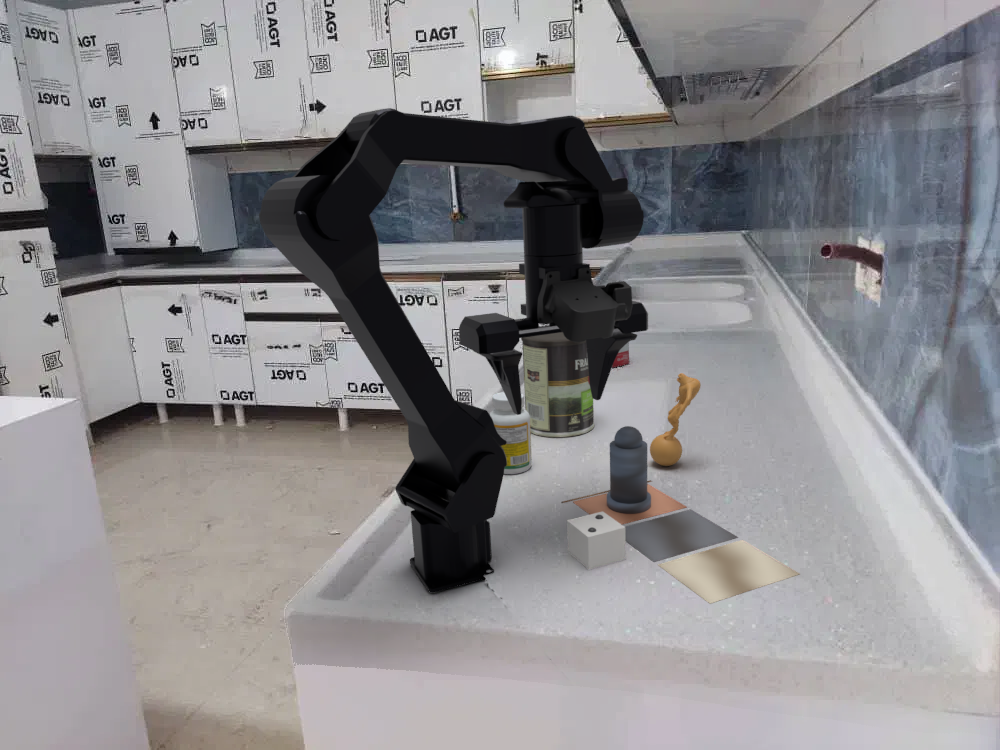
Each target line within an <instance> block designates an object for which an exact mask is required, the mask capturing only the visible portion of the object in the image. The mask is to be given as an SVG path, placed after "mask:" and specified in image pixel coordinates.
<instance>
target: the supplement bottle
mask: <svg viewBox="0 0 1000 750" xmlns="http://www.w3.org/2000/svg"><path fill="white" fill-rule="evenodd" d="M491 399H492V400H491V404H492V405H491V406H492V407H493V410H491V411H490V412H489V414H490V416H491V418H492V420H493V423H494V426H495V429H496V431H497V433H498V434H499V435H500V437H501V438H503V439H504V440H506V441H507V443H506V444H505V445H502V446H501V447H502V448H503V449H504V452H505V455H506V458H507V465H506V467H505V468H504V475H517V474H521V473H524V472H527V471H528V470H529V469H531V467H532V463H533V461H532V460H533V459H532V437H531V435H532V433H531V431H530V415H529V413H528V412H527V411H526V410H525V408H524V407H525V394H523V393H522V392H521V399H522V406H521V414H520V415H517V414H515V413H514V412H513V410H512V408H511V406H510V404H509V402H508V399H507V397H506V395H505V393H504V391H501V392H497V393H494V394H492V396H491Z"/></svg>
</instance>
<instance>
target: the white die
mask: <svg viewBox="0 0 1000 750" xmlns="http://www.w3.org/2000/svg"><path fill="white" fill-rule="evenodd" d="M566 529H567V530H566V532H567V533H566V536H567V538H566V539H567V553H569V554H570V555H571V556H572V557H574V558H575V559H576V560H577V561H578V562H579V563H580V564H581V565H583V566H584V567H585V568H586V569H587V570H588V571H590V570H594V569H597V568H601V567H604V566H608V565H611V564H615V563H619V562H623V561H625V560H626V559H627V558H626V548H627V547H626V541H625V525H624V524H623V525H621V524H620V523H618V522H617V521H616V520H614V519H613V518H611V517H610V516H609V515H607V514H606V513H604V512H603V511H602V512H598V513H594V514H586V515H583V516H579V517H575V518H571V519H567V520H566Z"/></svg>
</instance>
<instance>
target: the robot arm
mask: <svg viewBox="0 0 1000 750" xmlns="http://www.w3.org/2000/svg"><path fill="white" fill-rule="evenodd" d="M599 153H600V152H598V149H597V148H596V145H595V143H594V142H593V139H592V137H591V135H589V131H588V130H587V127H586V125H585V122H584V120H582V119H581V118H580V117H579V116H578V117H577V116H576V115H575V116H574V115H565V116H564V115H563V116H557V117H550V118H543V119H541V118H540V119H534V120H527V121H521V122H514V123H513V122H512V123H506V122H496V121H495V122H494V121H485V120H476V119H467V118H466V119H465V118H457V117H456V118H454V117H445V116H438V115H437V116H435V115H426V114H418V113H417V114H416V113H410V112H408V113H407V112H402V111H399V110H397V109H396V108H391V107H390V108H389V107H388V108H381V109H375V110H371V111H365V112H360V113H358V114H356V115H355V116H352V119H351V120H350V121H349V122H348V123H347V124H346V126H344V128H343V129H342V130H341V131H340V132H339V133H338V135H337V136H336V137H335V138H333V139H332V140H331V141H330V142H329V143H328V144H326V145H325V146H324V147H323V148H321V149H320V150H319V151H318V152H316V153H315V154H314V155H313V156H312V157H311V158H309V160H307V161H305V163H304V164H303V165H302V166H301V167H300V168H299V169H298V170H297V171H296V173H294V175H293V176H292V177H285V178H283V179H280V180H278V181H276V182H274V183H273V184H272V185H271V186H270V187H269V188H268V189H267V191H266V192H265V193H264V196H263V198H262V201H261V205H260V212H259V214H258V219H259V222H260V226H261V228H262V230H263V232H264V234H265V237H267V238H268V240H269V241H270V242H271V243H272V244H273V245H274V246H275V247H276V249H277V250H278V251H279V252H280V253H281V254H282V255H283V257H285V259H286V260H287V261H288V262H289V263H290V264H291V265H292V266H293V267H294V268H295V269H296V270H297V271H299V272H300V273H301V274H302V275H303V276H305V277H306V278H307V279H308V280H309V281H311V282H312V283H313V284H314V285H316V287H318V288H319V289H321V290H322V292H323V293H325V295H326V296H327V297H328V298H329V299H330V301H331V303H332V304H333V307H334V308H335V309H336V311H337V313H338V314H339V315H340V317H341V319H342V320H343V322H344V324H345V325H346V326H347V328H348V330H349V332H350V333H351V334H352V336H353V338H354V339H355V340H356V343H357V344H358V345H359V347H360V349H361V350H362V352H363V353H364V355H365V357H366V358H367V360H368V361H369V363H370V364H371V366H372V368H373V370H374V371H375V373H376V374H377V375H378V377H379V379H380V380H381V382H382V383H383V386H384V387H385V388H386V390H387V392H388V393H389V394H390V396H391V397H392V399H393V401H394V403H395V404H396V406H397V407H398V409H399V410H400V412H401V414H402V415H403V417H404V419H405V421H406V423H407V429H408V430H407V431H408V432H407V433H408V436H407V437H408V445H409V446H408V447H409V449H410V451H411V454H412V456H413V457H412V458H413V459H412V461H411V463H410V464H409V466H408V467H407V469H406V470H405V472H404V473H403V475H402V477H400V479H399V481H398V482H397V484H396V486H395V488H394V489H395V492H396V495H397V497H398V498H399V500H400V502H401V504H402V505H403V506H405V507H408V508H410V509H412V510H411V511H410V520H411V521H410V522H411V532H412V533H411V534H412V546H413V554H414V555H413V557H411V558H409V565H410V567H411V568H412V570H413V572H415V574H416V576H417V577H418V578H419V580H420V581H421V582H422V583H421V584H423V586H424V588H426V590H427V592H428V593H432V594H434V593H438V592H441V591H445V590H449V589H452V588H457V587H461V586H465V585H468V584H471V583H474V582H478V581H482V580H485V579H486V577H485V576H488V575H492V574H494V573H495V569H494V568H493V567H492V565H490V562H491V561H492V542H491V541H492V539H491V522H490V521H489V520H490V519H492V518H493V517H494V516H495V514H496V510H497V505H498V501H499V496H500V492H501V487H502V482H503V479H504V475H505V474H504V468H505V467H506V465H507V458H506V455H505V452H504V449H503V448H502V447H501V446H502V445H505V444H506V443H507V441H506V440H504V439H503V438H501V437H500V435H499V434H498V433H497V431H496V429H495V426H494V423H493V420H492V418H491V416H490V412H488V410H487V409H484V408H480V407H477V406H475V405H471V404H468V403H464V402H462V401H459V400H455V398H454V397H453V395H452V393H451V391H450V390H449V388H448V386H447V385H446V383H445V381H444V379H443V377H442V376H441V374H440V372H439V371H438V368H437V367H436V365H435V364H434V362H433V359H432V358H431V356H430V355H429V353H428V352H427V350H426V348H425V346H424V344H423V343H422V341H421V339H420V337H419V336H418V334H417V332H416V330H415V329H414V327H413V325H412V324H411V322H410V319H408V316H407V315H406V313H405V311H404V310H403V308H402V306H401V305H400V303H399V301H398V299H397V298H396V296H395V294H394V292H393V290H392V289H391V287H390V285H389V284H388V282H387V280H386V278H385V277H384V275H383V272H382V270H381V262H380V247H379V235H378V233H377V230H376V227H375V224H374V222H373V220H372V217H371V214H372V213H373V212H374V210H376V208H377V206H379V204H380V203H381V202H382V200H383V199H385V197H386V195H387V194H388V191H389V189H390V187H391V183H392V181H393V178H394V176H395V174H396V171H397V169H398V168H399V166H401V164H410V165H411V164H412V165H429V166H430V165H432V166H450V167H451V166H452V167H468V168H469V167H470V168H484V169H488V170H491V171H495V172H496V173H499V174H500V175H501V176H505V177H507V178H511V179H514V180H518V181H520V182H518V183H517V186H516V187H515V189H514V190H513V191H512V193H510V194H509V195H508V197H506V199H504V201H503V207H504V208H506V209H521V211H522V212H521V213H522V214H521V215H522V232H523V233H522V236H523V259H524V260H523V261H524V262H523V263H518V274H520V275H524V287H525V288H524V290H525V303H521V304H520V314H521V315H523V316H525V318H524V317H523V318H516V319H515V318H513V317H509V316H506V315H503V314H501V313H498V312H492V313H484V314H483V313H482V314H475V315H469V316H464V318H462V320H461V322H460V324H459V326H458V335H459V345H461V346H463V347H465V348H467V349H468V350H471V351H473V352H474V353H476V354H478V355H480V356H481V357H484V358H485V360H486V361H487V363H488V364H489V366H490V367H491V369H492V370H493V372H494V374H495V376H496V378H497V380H498V381H499V382H498V383H499V384H500V386H501V388H502V392H504V393H505V395H506V397H507V399H508V402H509V404H510V406H511V408H512V410H513V412H514V413H515V414H517V415H520V414H521V406H522V399H521V393H522V389H521V380H520V369H519V368H520V366H519V365H520V362H521V359H522V358H523V351H520V350H517V349H515V348H516V346H517V345H518V344H519V342H520V339H521V338H524V337H531V336H538V335H545V334H553V333H560V332H563V334H564V336H565V337H566V338H567V339H568V340H570V341H573V342H584V341H585V340H586V346H587V358H588V370H589V382H590V389H591V394H592V398H593V400H594V401H600V400H601V399H602V396H603V393H604V390H605V388H606V385H607V382H608V379H609V376H610V374H611V371H612V369H613V368H612V366H613V363H614V361H615V359H616V356H617V354H618V352H619V351H620V349H621V348H622V347H624V346H625V345H626V344H627V343H628V342H629V343H630V342H631V341H635V340H636V339H637V337H638V334H636V333H639V332H646V331H648V330H649V313H648V310H647V309H646V307H645V306H644V304H643V303H642V302H639V301H635V300H633V292H632V291H633V290H632V286H631V285H630V284H628V283H627V282H626V281H625V280H621V281H615V282H614V281H612V282H608V283H607V284H606V285H594V281H593V279H592V269H591V266H590V263H585V262H584V257H583V250H584V249H587V250H588V249H594V248H596V249H597V248H601V247H610V246H618V245H625V244H629V243H631V242H632V241H634V240H635V239H636V238H638V236H639V235H640V232H641V231H642V228H643V226H644V210H643V209H642V207H641V206H642V205H641V203H640V200H639V199H638V197H637V196H636V195H635V194H634V193H633V192H632V191H631V190H629V188H628V186H629V185H628V184H629V181H628V180H629V179H628V178H627V177H618V178H617V177H613V178H612V177H611V174H610V173H609V171H608V169H607V167H606V165H605V163H604V161H603V159H602V157H601V155H600V154H599Z"/></svg>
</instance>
